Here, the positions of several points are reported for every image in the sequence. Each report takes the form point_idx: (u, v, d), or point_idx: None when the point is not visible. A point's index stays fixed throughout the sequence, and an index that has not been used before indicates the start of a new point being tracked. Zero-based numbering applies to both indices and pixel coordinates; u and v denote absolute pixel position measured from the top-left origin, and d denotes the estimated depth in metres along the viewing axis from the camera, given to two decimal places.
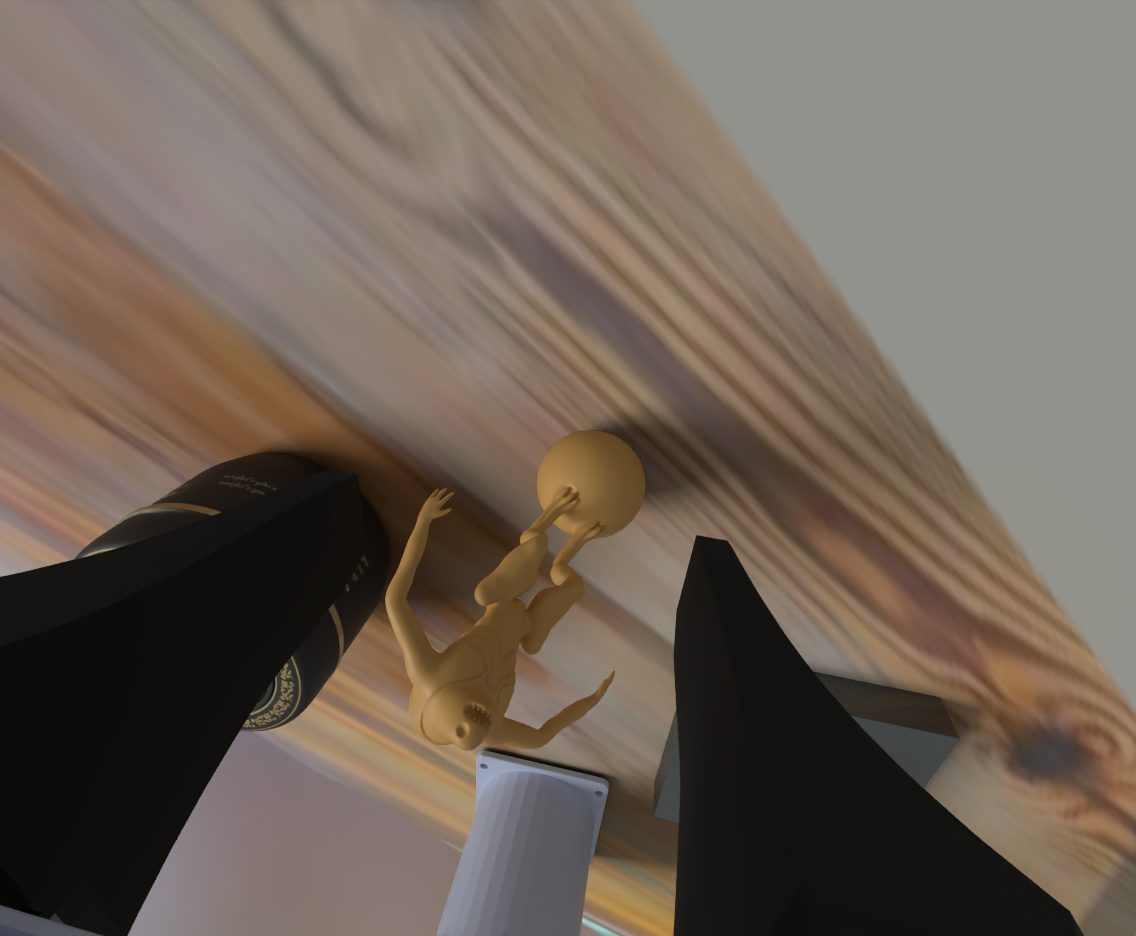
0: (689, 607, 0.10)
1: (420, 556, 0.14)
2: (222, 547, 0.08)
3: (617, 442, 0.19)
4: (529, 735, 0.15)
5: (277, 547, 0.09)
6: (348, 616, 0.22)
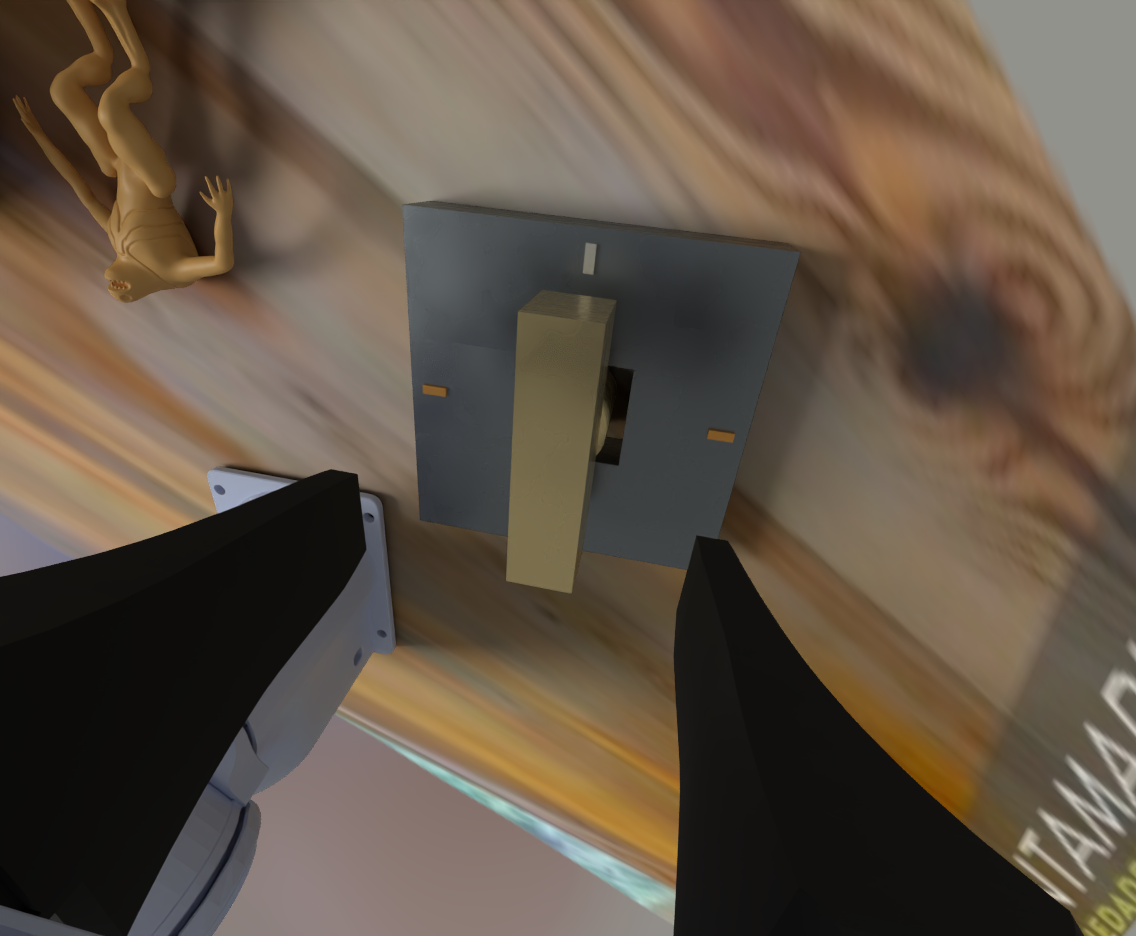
0: (689, 607, 0.10)
1: (62, 168, 0.18)
2: (222, 547, 0.08)
3: None
4: (206, 265, 0.17)
5: (277, 547, 0.09)
6: None
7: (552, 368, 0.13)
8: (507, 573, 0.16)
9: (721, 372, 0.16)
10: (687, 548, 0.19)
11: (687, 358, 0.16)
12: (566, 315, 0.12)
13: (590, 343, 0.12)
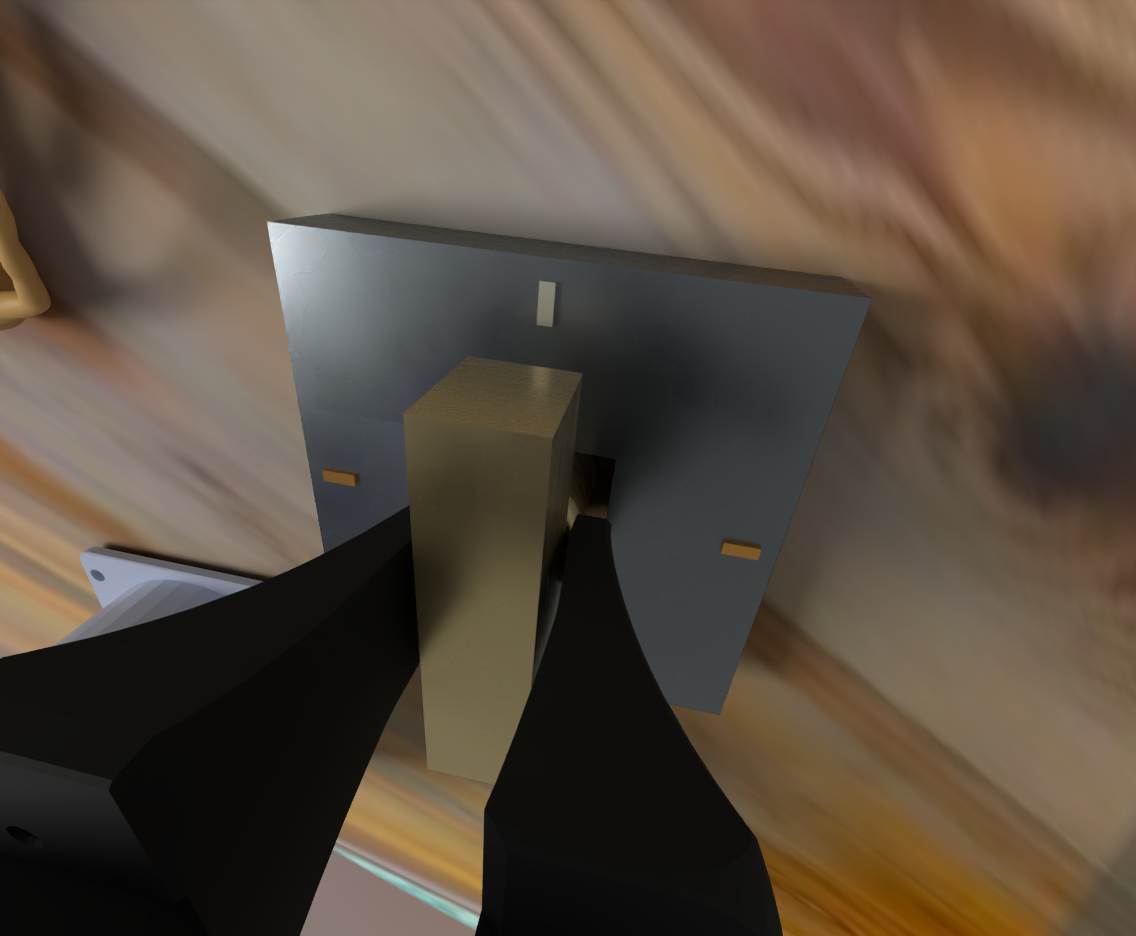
0: None
1: None
2: (368, 576, 0.08)
3: None
4: (10, 304, 0.12)
5: (407, 573, 0.09)
6: None
7: (468, 502, 0.08)
8: (428, 761, 0.11)
9: (743, 466, 0.11)
10: (691, 684, 0.14)
11: (693, 447, 0.11)
12: (487, 418, 0.07)
13: (528, 467, 0.07)
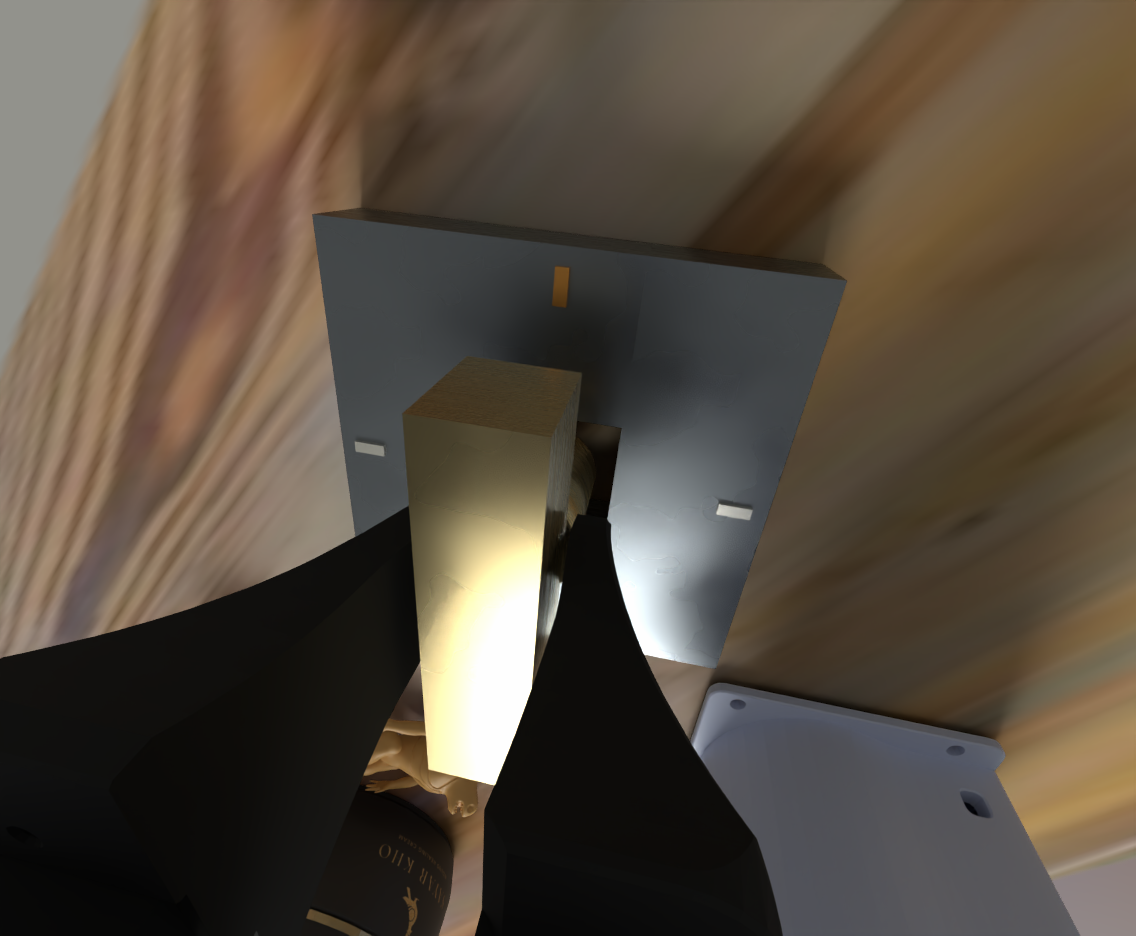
0: None
1: (408, 784, 0.24)
2: (368, 577, 0.08)
3: None
4: None
5: (407, 573, 0.09)
6: None
7: (468, 502, 0.08)
8: (429, 761, 0.11)
9: (469, 295, 0.12)
10: (782, 322, 0.11)
11: (459, 340, 0.12)
12: (486, 418, 0.07)
13: (527, 467, 0.07)
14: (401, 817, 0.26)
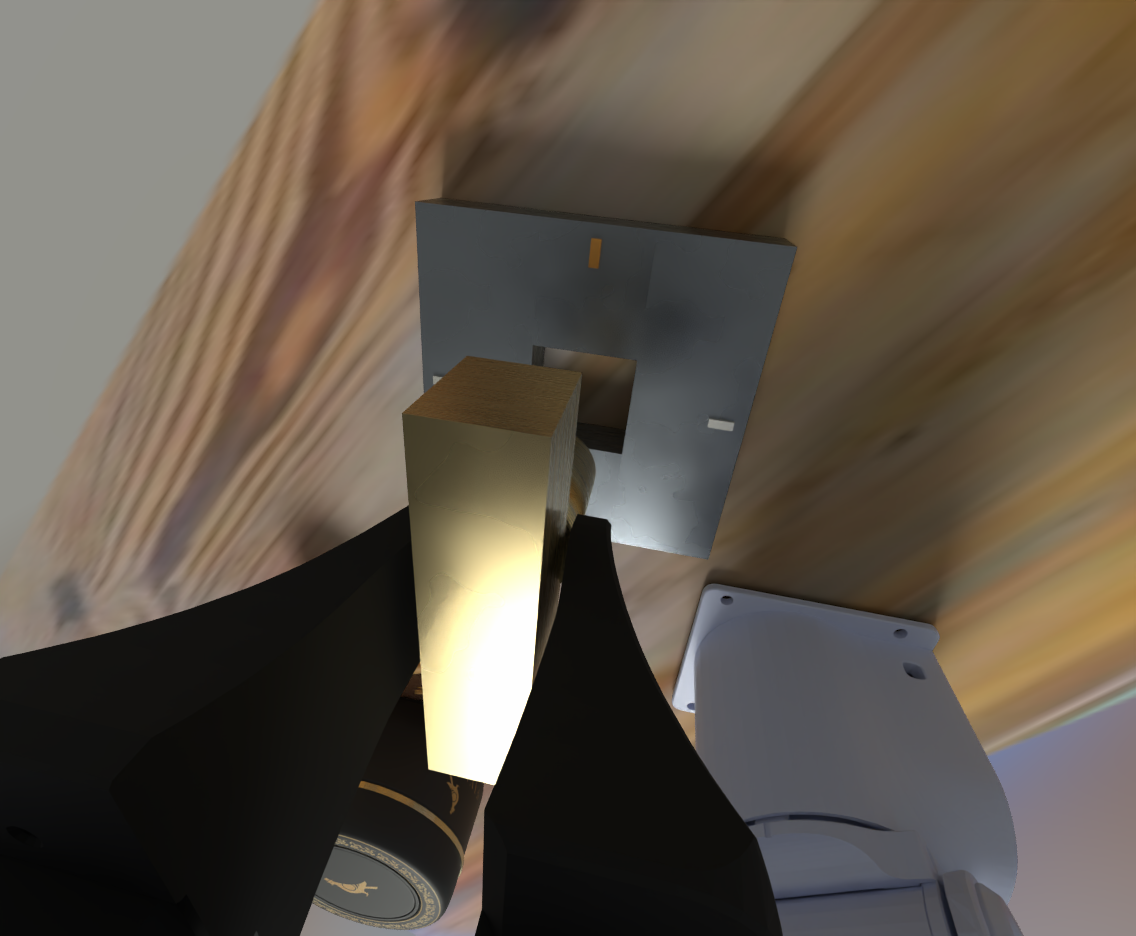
0: None
1: None
2: (368, 577, 0.08)
3: None
4: None
5: (407, 573, 0.09)
6: (367, 769, 0.27)
7: (467, 501, 0.08)
8: (429, 761, 0.11)
9: (527, 260, 0.16)
10: (753, 277, 0.15)
11: (518, 294, 0.17)
12: (486, 418, 0.07)
13: (527, 466, 0.07)
14: None
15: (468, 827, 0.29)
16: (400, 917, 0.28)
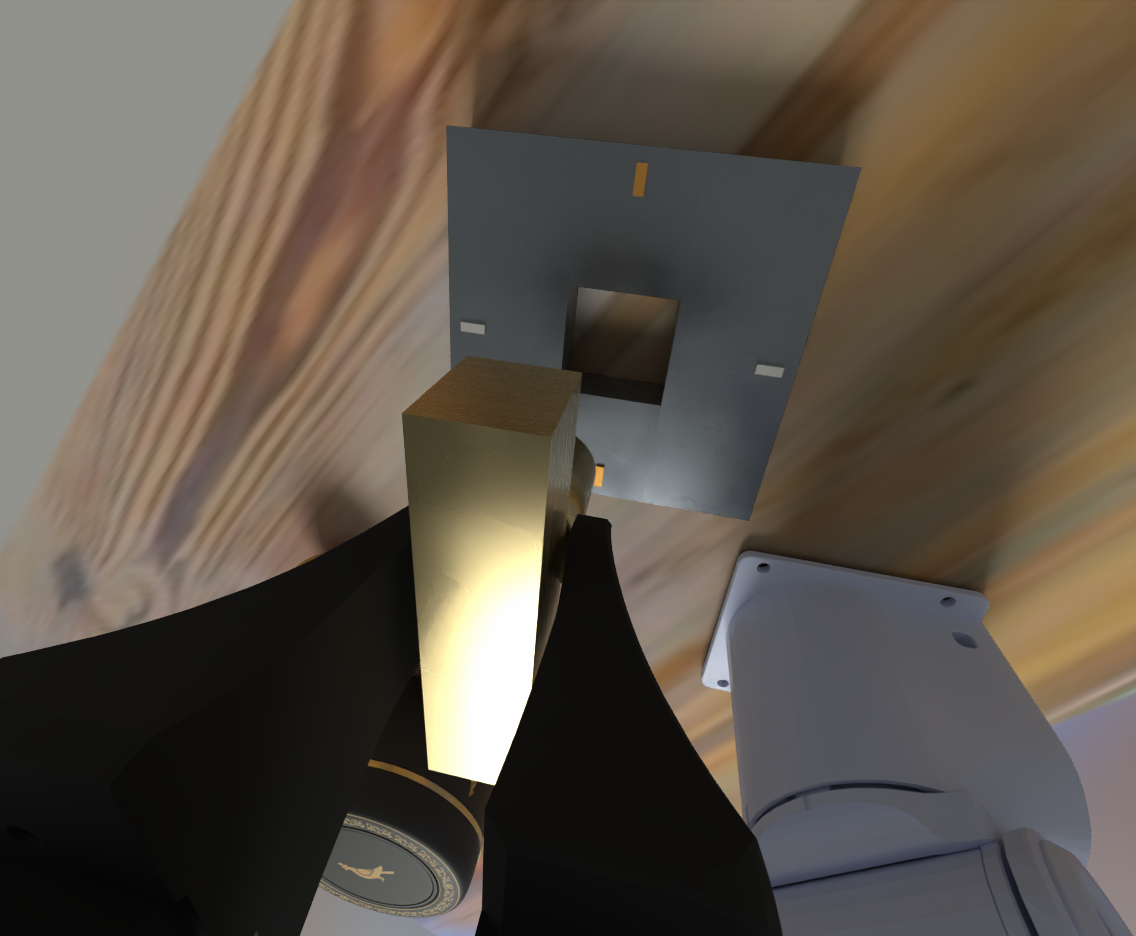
0: None
1: None
2: (368, 577, 0.08)
3: None
4: None
5: (407, 573, 0.09)
6: (383, 749, 0.26)
7: (467, 502, 0.08)
8: (429, 761, 0.11)
9: (566, 189, 0.15)
10: (811, 204, 0.14)
11: (554, 229, 0.16)
12: (486, 418, 0.07)
13: (527, 466, 0.07)
14: None
15: None
16: (417, 904, 0.27)
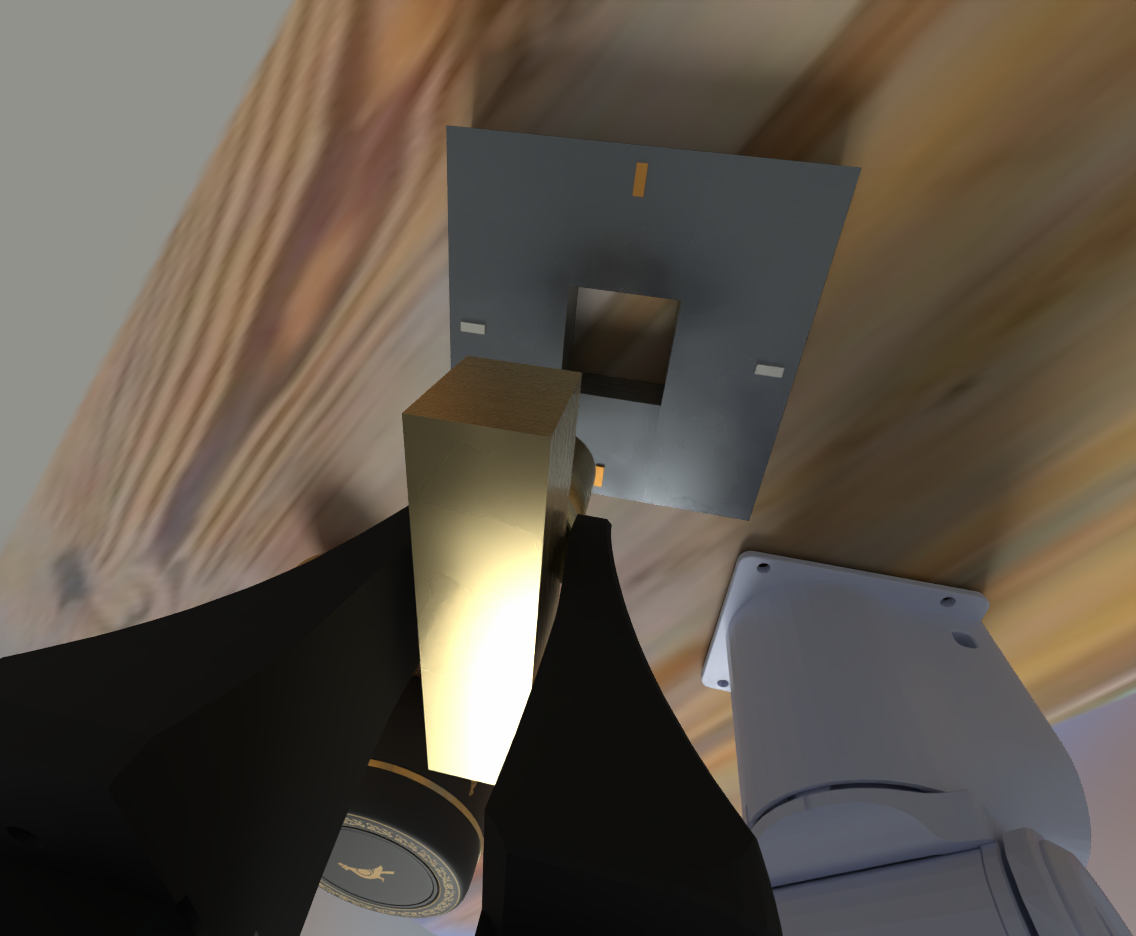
0: None
1: None
2: (368, 577, 0.08)
3: None
4: None
5: (407, 573, 0.09)
6: (384, 749, 0.26)
7: (467, 502, 0.08)
8: (429, 761, 0.11)
9: (566, 189, 0.15)
10: (811, 204, 0.14)
11: (554, 229, 0.16)
12: (486, 418, 0.07)
13: (527, 466, 0.07)
14: None
15: None
16: (417, 904, 0.27)
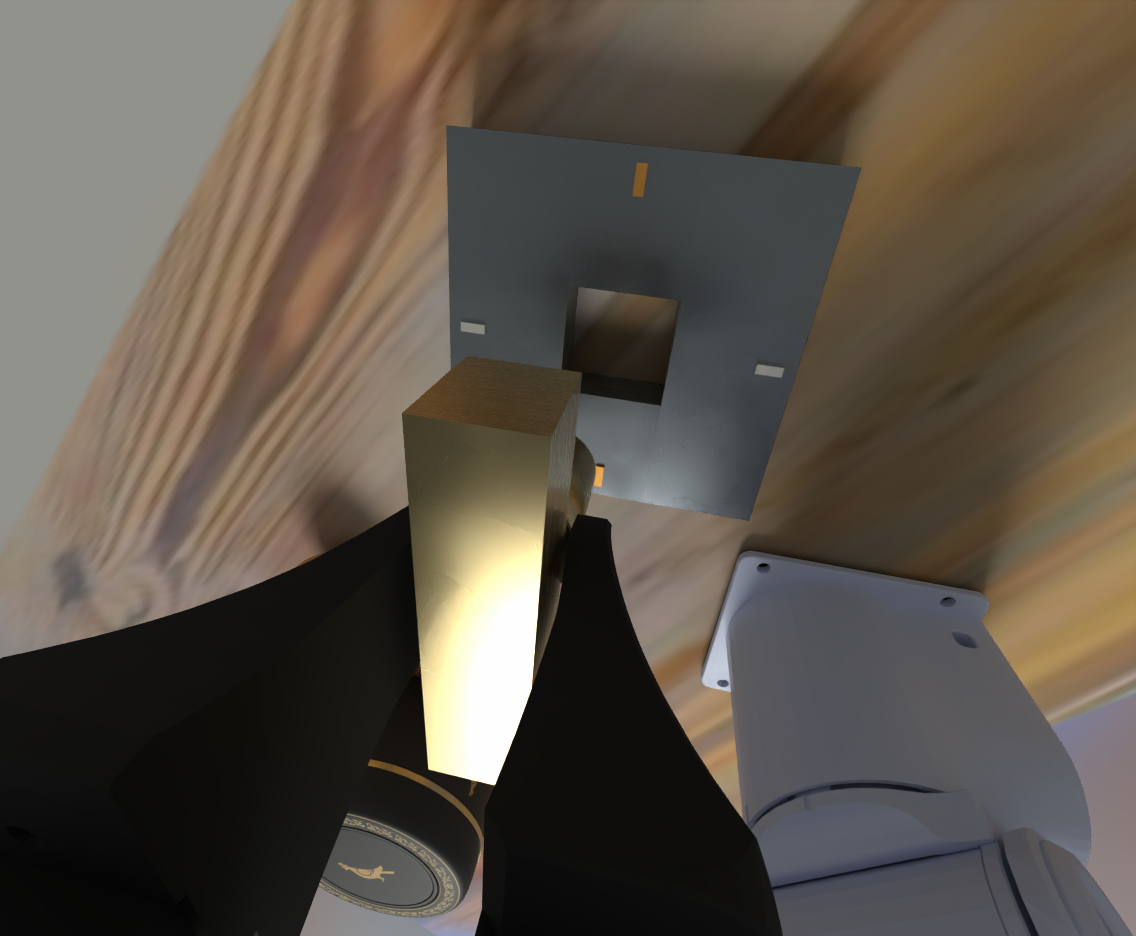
0: None
1: None
2: (368, 577, 0.08)
3: None
4: None
5: (407, 573, 0.09)
6: (383, 749, 0.26)
7: (467, 502, 0.08)
8: (429, 761, 0.11)
9: (566, 189, 0.15)
10: (811, 204, 0.14)
11: (554, 229, 0.16)
12: (486, 418, 0.07)
13: (527, 466, 0.07)
14: None
15: None
16: (417, 904, 0.27)
